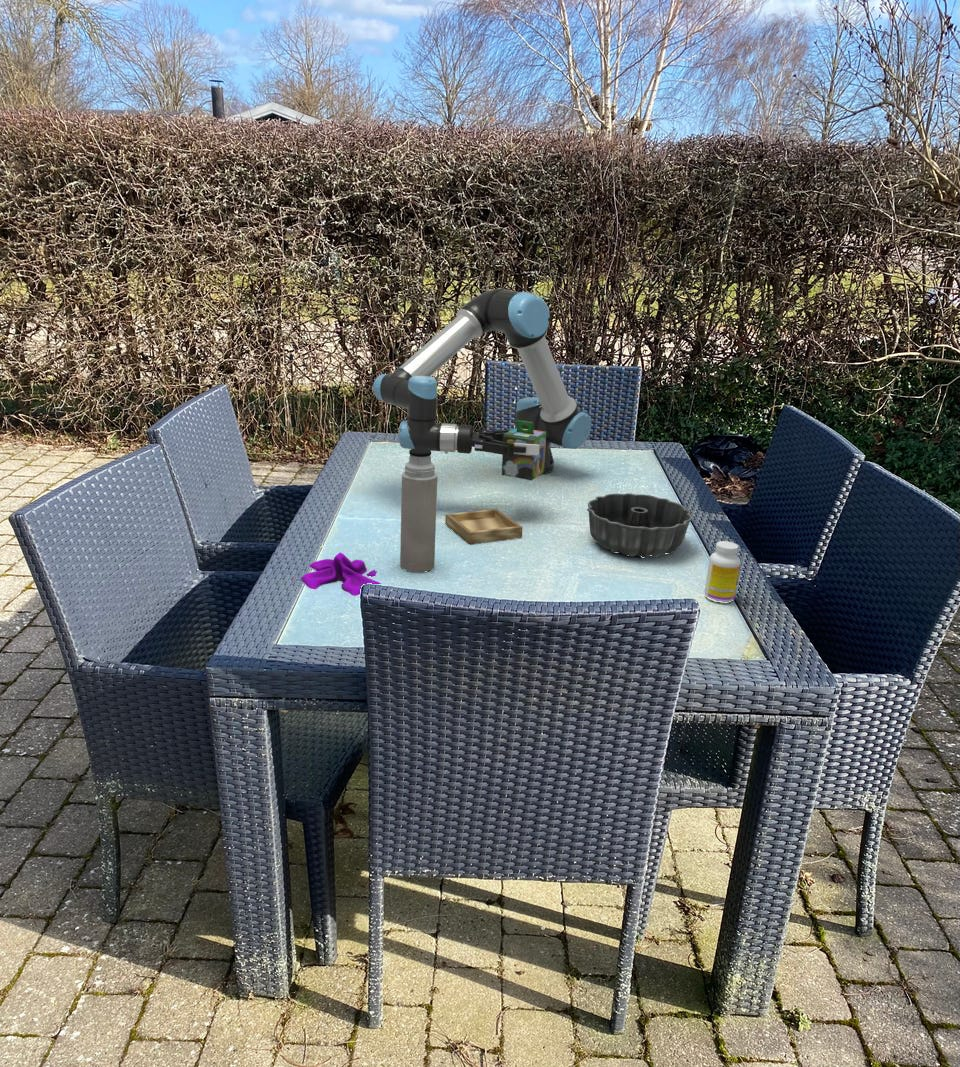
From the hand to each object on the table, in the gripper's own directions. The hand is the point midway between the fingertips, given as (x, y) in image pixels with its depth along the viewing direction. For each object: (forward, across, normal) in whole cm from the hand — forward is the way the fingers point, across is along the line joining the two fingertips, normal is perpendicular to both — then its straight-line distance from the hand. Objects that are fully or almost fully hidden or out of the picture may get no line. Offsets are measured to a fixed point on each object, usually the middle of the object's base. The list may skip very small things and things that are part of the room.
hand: (539, 444), depth 237 cm
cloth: (-42, +48, -22) cm, 67 cm away
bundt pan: (+26, +15, -21) cm, 37 cm away
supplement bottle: (+43, +45, -21) cm, 65 cm away
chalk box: (-4, 0, -9) cm, 10 cm away
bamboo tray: (-13, +13, -21) cm, 28 cm away
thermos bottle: (-26, +40, -21) cm, 52 cm away
